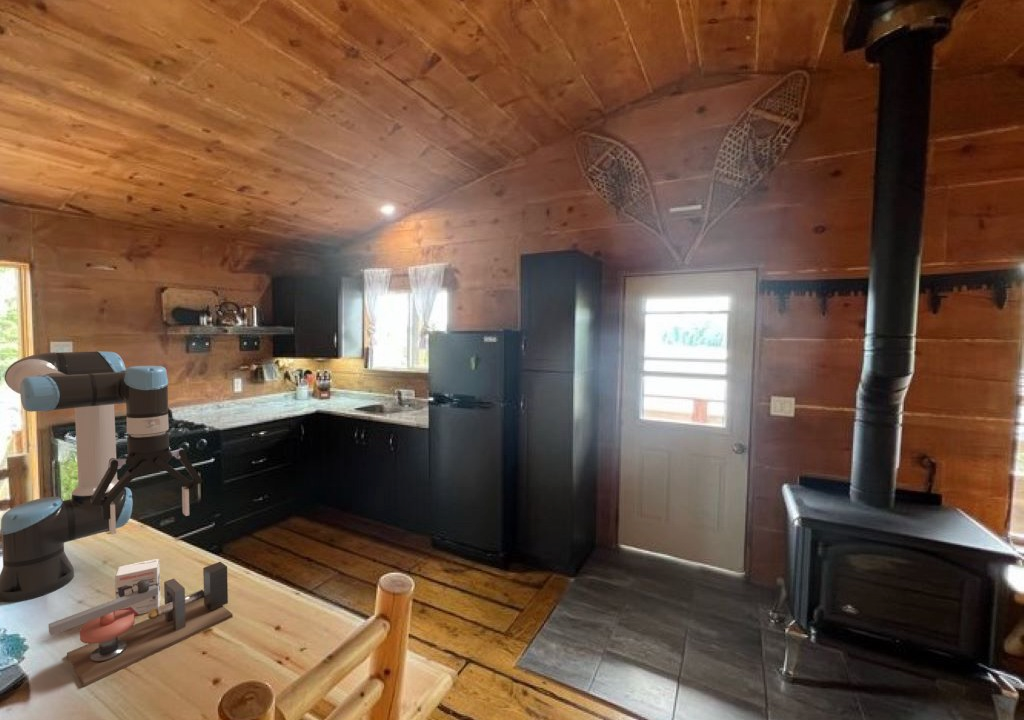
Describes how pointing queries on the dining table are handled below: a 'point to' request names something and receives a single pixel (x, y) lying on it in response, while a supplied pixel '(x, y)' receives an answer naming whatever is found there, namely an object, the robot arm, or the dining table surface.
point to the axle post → (108, 650)
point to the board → (146, 641)
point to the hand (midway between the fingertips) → (151, 522)
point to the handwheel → (105, 617)
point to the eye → (175, 603)
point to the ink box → (129, 580)
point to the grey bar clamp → (212, 593)
